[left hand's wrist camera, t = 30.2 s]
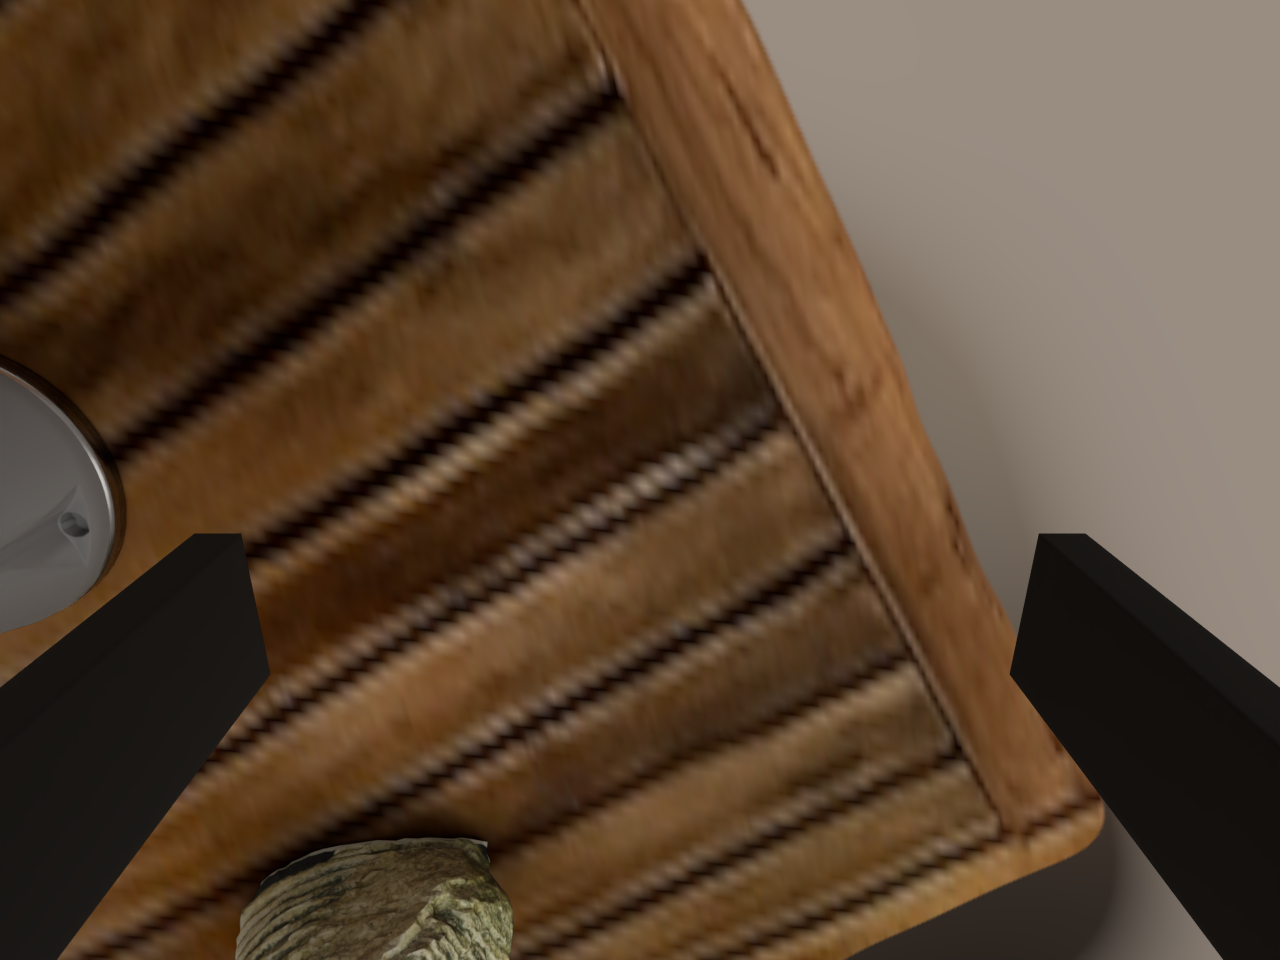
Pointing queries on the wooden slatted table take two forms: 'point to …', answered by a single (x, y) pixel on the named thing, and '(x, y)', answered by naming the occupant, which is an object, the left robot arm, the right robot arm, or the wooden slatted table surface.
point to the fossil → (381, 905)
